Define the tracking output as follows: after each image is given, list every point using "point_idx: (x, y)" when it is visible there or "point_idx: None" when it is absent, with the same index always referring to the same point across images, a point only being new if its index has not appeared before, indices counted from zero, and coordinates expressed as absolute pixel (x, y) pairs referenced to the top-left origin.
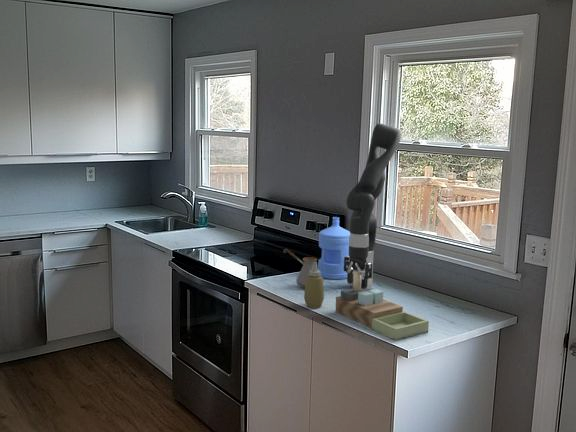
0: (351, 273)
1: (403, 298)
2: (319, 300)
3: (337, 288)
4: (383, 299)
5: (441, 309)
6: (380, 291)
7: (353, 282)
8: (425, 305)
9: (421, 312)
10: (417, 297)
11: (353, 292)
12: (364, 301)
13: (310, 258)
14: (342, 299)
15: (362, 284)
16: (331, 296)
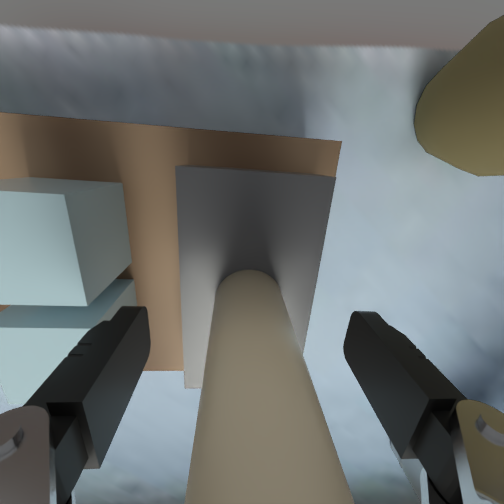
0: (423, 451)
1: None
2: (443, 86)
3: (493, 371)
4: None
5: (100, 482)
6: (27, 393)
7: (273, 320)
8: (158, 471)
9: None
10: None
11: (225, 243)
12: (6, 180)
13: None
14: (261, 139)
15: (99, 336)
16: (461, 293)
